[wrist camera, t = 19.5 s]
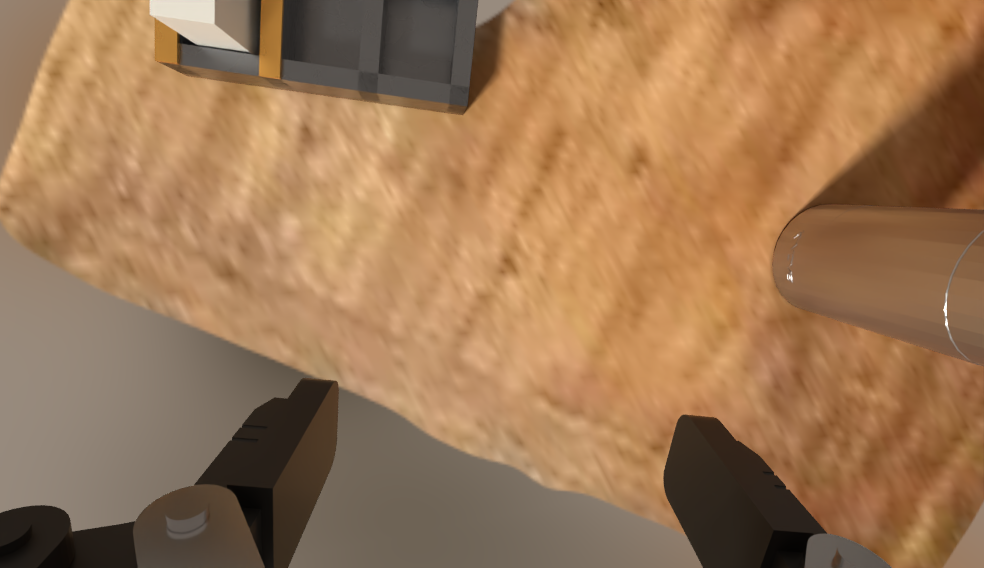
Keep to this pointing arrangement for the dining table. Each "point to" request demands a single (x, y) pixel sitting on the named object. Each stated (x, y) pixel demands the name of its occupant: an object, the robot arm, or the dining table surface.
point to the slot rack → (347, 51)
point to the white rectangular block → (213, 22)
